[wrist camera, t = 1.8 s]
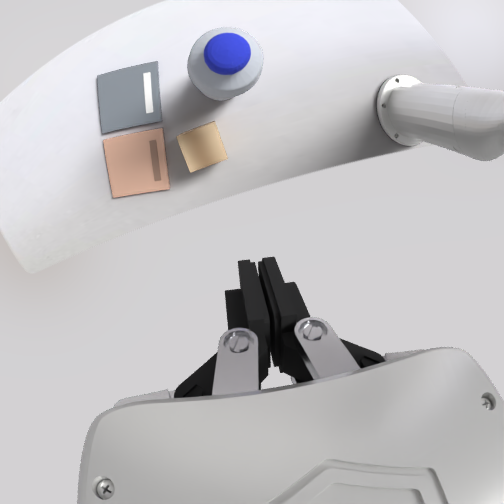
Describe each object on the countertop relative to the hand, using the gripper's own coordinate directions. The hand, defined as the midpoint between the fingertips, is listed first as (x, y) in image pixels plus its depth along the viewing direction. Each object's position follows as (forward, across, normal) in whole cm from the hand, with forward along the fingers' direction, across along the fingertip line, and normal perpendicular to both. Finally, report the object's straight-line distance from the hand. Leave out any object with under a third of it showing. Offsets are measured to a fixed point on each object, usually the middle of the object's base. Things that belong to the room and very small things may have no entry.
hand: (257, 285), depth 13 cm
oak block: (+29, +3, -3) cm, 30 cm away
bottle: (+29, 0, -12) cm, 32 cm away
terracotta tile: (+29, +13, -2) cm, 32 cm away
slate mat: (+29, +13, -12) cm, 34 cm away
